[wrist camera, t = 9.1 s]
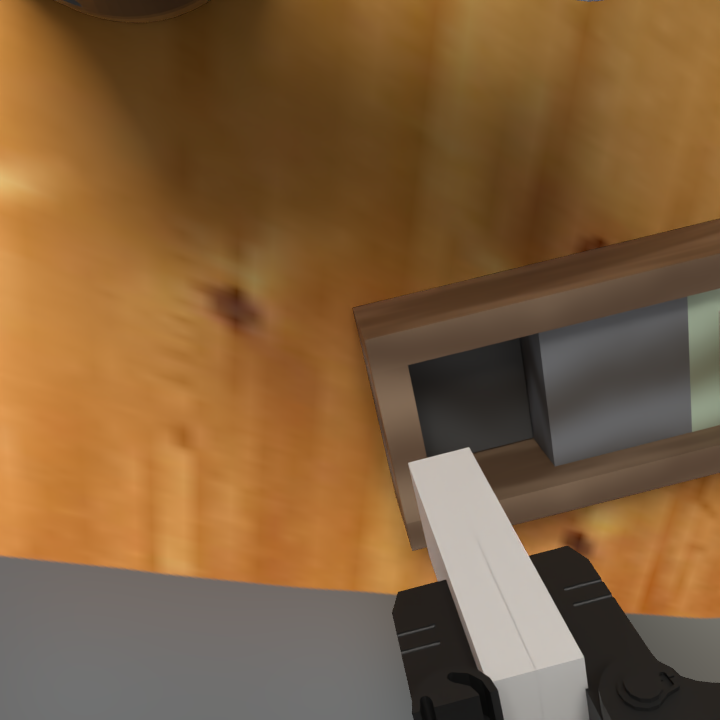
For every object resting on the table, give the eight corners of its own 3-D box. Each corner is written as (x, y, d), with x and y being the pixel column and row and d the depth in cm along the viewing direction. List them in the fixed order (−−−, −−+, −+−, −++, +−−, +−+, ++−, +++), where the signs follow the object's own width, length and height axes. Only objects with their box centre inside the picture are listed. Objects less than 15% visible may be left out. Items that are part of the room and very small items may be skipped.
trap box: (352, 307, 42) (364, 340, 37) (939, 165, 43) (1037, 175, 38) (396, 497, 47) (412, 550, 42) (918, 365, 49) (1002, 400, 43)
